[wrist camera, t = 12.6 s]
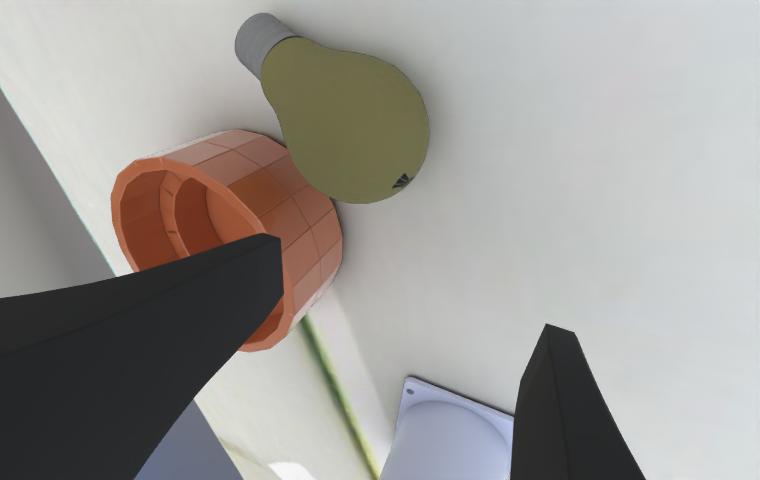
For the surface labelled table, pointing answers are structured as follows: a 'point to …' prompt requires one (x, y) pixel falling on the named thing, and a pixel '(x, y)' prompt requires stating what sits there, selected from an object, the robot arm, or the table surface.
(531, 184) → the table surface
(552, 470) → the robot arm
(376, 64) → the light bulb
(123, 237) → the bowl
